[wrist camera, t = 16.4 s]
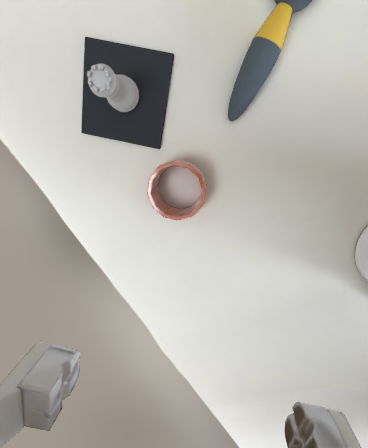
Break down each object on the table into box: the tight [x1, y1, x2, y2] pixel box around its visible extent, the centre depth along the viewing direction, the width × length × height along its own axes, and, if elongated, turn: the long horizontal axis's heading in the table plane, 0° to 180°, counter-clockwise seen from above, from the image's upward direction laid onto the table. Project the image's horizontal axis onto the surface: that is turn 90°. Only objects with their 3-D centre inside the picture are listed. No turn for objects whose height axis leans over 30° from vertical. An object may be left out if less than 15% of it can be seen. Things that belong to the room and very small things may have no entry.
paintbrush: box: [228, 0, 312, 121], centre depth 26 cm, size 20×5×5 cm, turn 160°
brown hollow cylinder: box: [147, 160, 206, 220], centre depth 33 cm, size 8×8×4 cm
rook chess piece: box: [87, 64, 139, 112], centre depth 28 cm, size 4×4×8 cm
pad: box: [82, 37, 174, 149], centre depth 32 cm, size 12×12×1 cm
